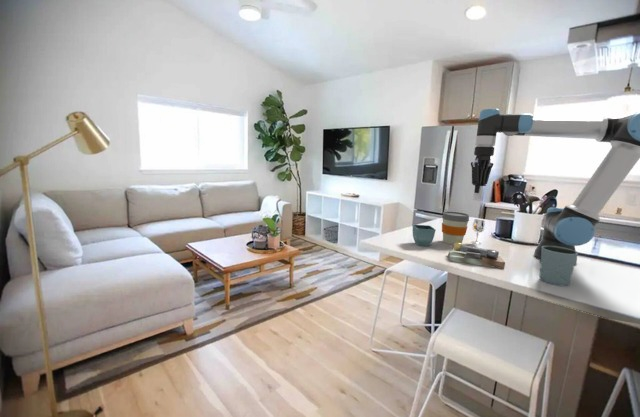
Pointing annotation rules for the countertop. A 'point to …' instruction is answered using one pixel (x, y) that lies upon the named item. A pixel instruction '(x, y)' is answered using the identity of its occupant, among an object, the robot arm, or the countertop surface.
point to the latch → (476, 250)
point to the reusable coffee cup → (454, 227)
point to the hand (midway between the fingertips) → (477, 200)
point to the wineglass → (478, 228)
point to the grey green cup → (557, 265)
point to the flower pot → (423, 234)
